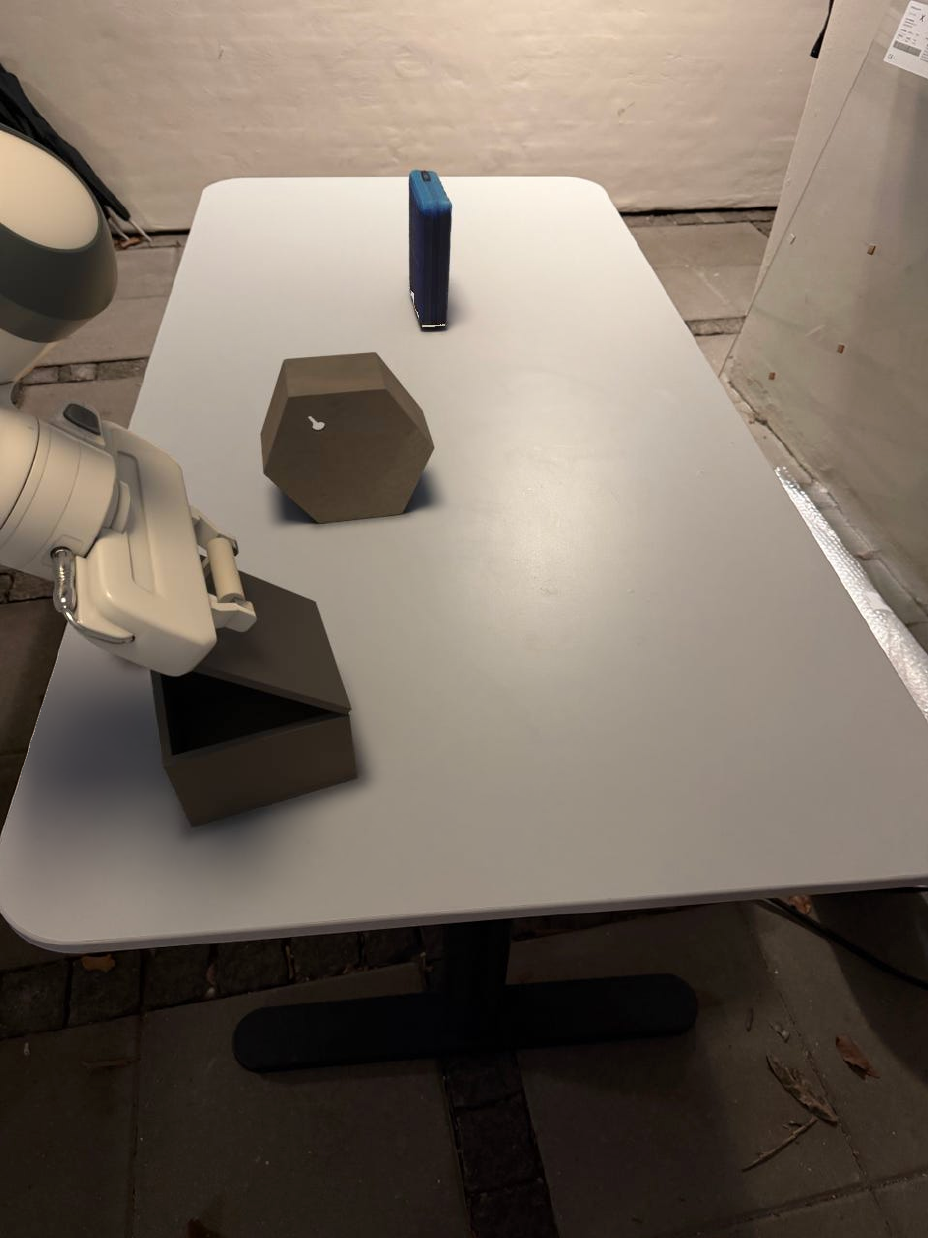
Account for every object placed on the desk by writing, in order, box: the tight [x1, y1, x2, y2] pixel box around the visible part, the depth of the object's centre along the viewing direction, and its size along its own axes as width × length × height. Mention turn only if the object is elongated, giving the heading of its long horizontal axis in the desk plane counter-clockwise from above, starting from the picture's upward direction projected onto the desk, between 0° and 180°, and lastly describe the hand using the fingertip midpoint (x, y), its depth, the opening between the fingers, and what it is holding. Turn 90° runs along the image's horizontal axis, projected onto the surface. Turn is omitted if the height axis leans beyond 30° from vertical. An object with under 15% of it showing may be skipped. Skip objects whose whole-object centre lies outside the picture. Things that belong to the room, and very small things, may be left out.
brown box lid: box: [192, 538, 352, 715], centre depth 60 cm, size 16×13×5 cm
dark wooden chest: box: [149, 669, 358, 828], centre depth 68 cm, size 15×13×10 cm
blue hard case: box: [408, 169, 453, 329], centre depth 122 cm, size 14×5×20 cm, turn 11°
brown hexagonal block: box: [259, 351, 435, 524], centre depth 90 cm, size 17×8×21 cm
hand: (241, 583), depth 57 cm, fingers closed on brown box lid, 6 cm apart
